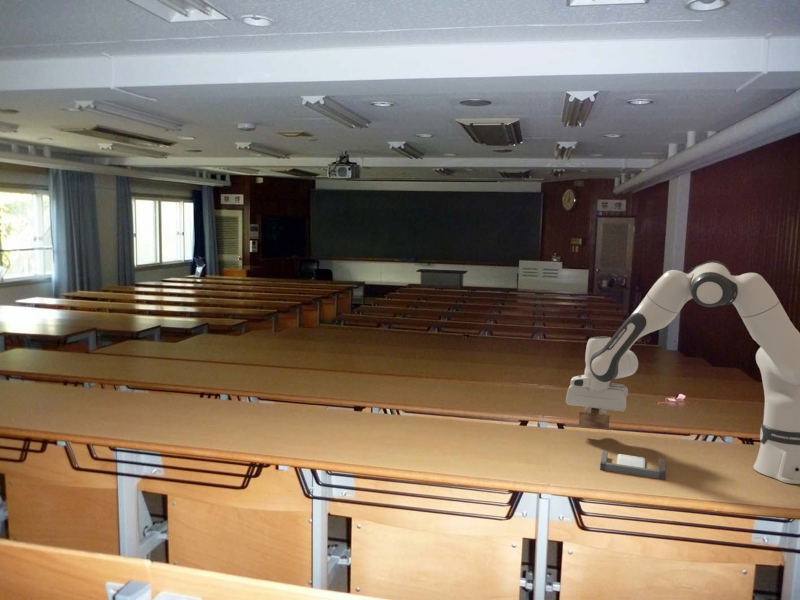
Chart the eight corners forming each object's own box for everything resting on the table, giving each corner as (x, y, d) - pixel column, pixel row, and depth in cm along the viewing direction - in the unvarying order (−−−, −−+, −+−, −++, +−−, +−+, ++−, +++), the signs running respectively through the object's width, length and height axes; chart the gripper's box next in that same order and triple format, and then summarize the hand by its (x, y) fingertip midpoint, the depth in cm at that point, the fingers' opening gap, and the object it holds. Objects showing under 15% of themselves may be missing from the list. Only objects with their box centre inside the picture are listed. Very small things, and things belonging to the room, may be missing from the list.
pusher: (610, 414, 220) (610, 404, 217) (608, 428, 214) (609, 418, 211) (581, 411, 223) (581, 400, 221) (579, 424, 218) (579, 414, 215)
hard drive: (645, 470, 183) (645, 457, 194) (615, 465, 186) (617, 453, 197) (644, 475, 183) (644, 462, 194) (615, 471, 186) (617, 458, 197)
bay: (663, 465, 190) (663, 459, 190) (664, 479, 179) (665, 472, 178) (602, 456, 197) (602, 450, 196) (600, 469, 185) (600, 463, 185)
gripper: (628, 383, 215) (625, 421, 216) (568, 376, 222) (566, 414, 223) (628, 386, 209) (625, 426, 210) (566, 380, 216) (564, 418, 218)
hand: (594, 420), depth 217 cm, fingers closed on pusher, 2 cm apart
